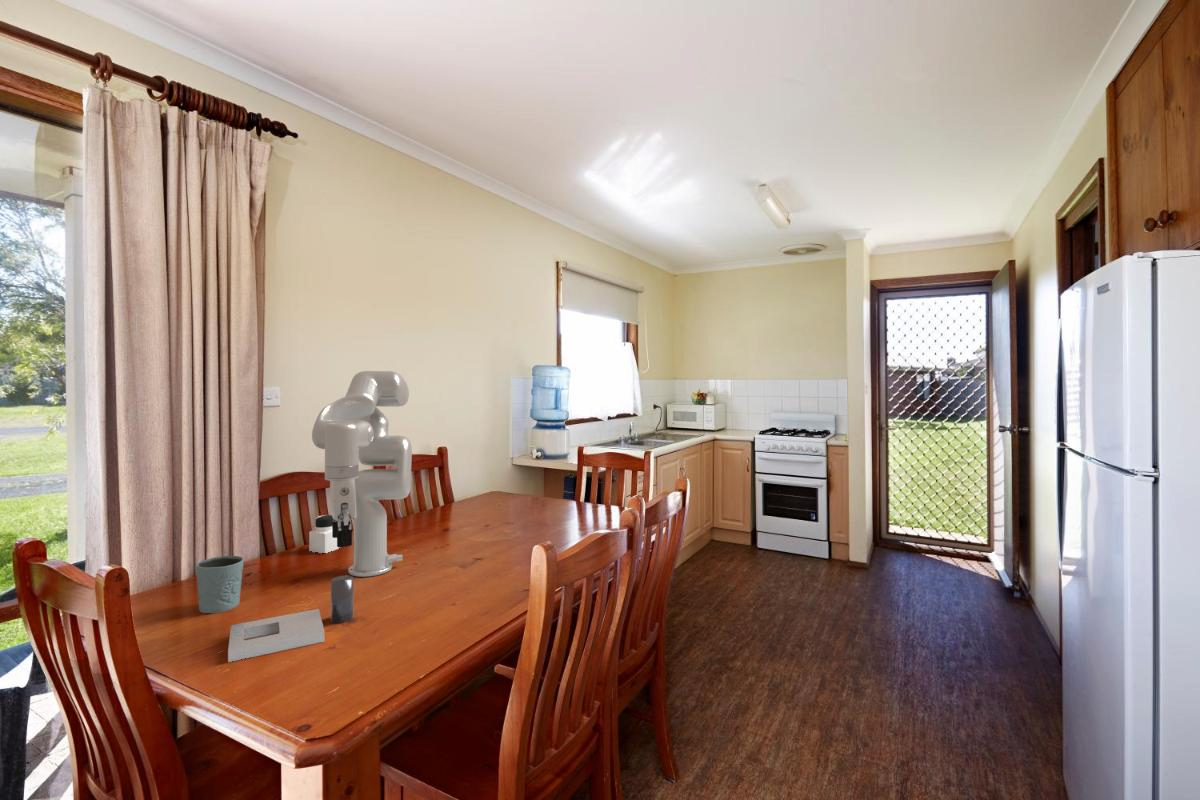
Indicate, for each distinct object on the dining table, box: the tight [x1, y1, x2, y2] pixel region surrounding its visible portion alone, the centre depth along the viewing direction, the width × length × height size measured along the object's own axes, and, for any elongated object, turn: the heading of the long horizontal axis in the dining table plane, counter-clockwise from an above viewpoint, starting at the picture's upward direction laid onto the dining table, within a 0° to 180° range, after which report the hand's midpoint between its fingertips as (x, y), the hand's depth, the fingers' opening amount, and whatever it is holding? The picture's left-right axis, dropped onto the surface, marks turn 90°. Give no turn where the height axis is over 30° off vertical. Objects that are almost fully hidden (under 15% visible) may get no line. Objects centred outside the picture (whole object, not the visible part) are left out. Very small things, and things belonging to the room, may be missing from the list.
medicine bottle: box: [308, 514, 342, 554], centre depth 190 cm, size 7×7×12 cm
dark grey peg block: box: [330, 575, 354, 624], centre depth 135 cm, size 5×5×10 cm
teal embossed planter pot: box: [195, 555, 245, 614], centre depth 141 cm, size 10×10×12 cm
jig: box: [227, 608, 325, 663], centre depth 124 cm, size 18×14×2 cm
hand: (341, 541), depth 134 cm, fingers open, 9 cm apart
